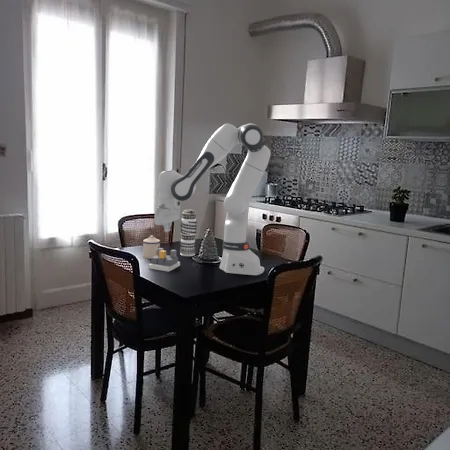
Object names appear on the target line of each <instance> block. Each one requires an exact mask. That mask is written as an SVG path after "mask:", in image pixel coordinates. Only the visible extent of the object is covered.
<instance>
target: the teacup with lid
mask: <svg viewBox="0 0 450 450" xmlns="http://www.w3.org/2000/svg"><path fill="white" fill-rule="evenodd" d="M142 243H143V244H142V246H143V247H142V248H143V251H142V257H143V258H144V259H148V260H151V258H152V257H154V256H156V255H158V248H161V247H160V246H161V240H160V239H158V238H156V237H155V236H154V235H149V237H147V238H145V239H143V241H142Z"/></svg>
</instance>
